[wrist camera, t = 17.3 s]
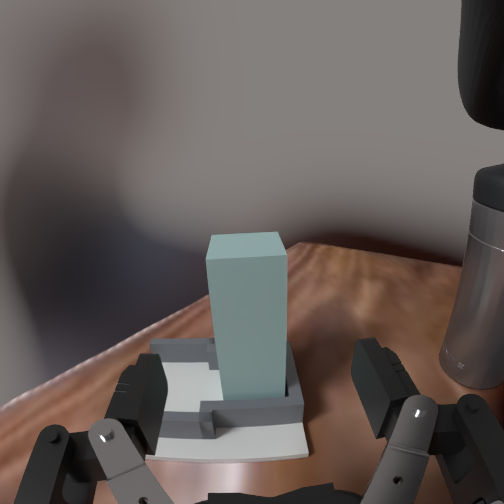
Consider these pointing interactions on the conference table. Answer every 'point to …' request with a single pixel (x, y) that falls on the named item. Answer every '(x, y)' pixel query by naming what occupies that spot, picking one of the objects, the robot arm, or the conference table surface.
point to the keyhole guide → (223, 411)
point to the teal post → (249, 313)
